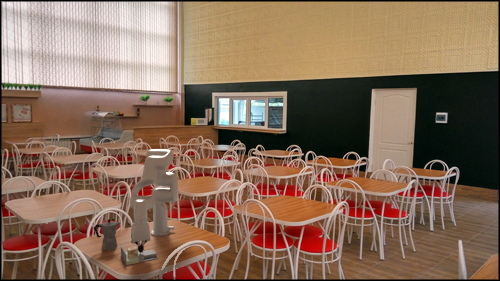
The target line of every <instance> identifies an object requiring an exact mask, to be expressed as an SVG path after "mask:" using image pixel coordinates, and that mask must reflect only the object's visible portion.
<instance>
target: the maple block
mask: <svg viewBox="0 0 500 281" xmlns="http://www.w3.org/2000/svg"><path fill="white" fill-rule="evenodd" d="M126 252H127V255H128V257H134V256H138V246H132V247H127V250H126Z"/></svg>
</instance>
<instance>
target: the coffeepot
mask: <svg viewBox="0 0 500 281" xmlns="http://www.w3.org/2000/svg"><path fill="white" fill-rule="evenodd" d="M120 225H121V222H117V221H111V218H108V219H107V221H106V222H102V223H99V224H95V226H93V230H94V233H95V235H96V237H97V238H101V237H102V236H103V238H102V243H101V249H102V250H104V251H114V250H115V249H117V248H118V242H117V237H116V234H117V229H118V228H119V226H120ZM98 228H101V232H102V235H100V233H99V232H98Z"/></svg>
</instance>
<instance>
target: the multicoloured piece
mask: <svg viewBox="0 0 500 281" xmlns="http://www.w3.org/2000/svg"><path fill="white" fill-rule="evenodd" d="M120 257H121V259H122V260H123V263H124V265H125V266H128V265H132V264H137V263H138V264H139V263H143V262H149V261H156V260H159V258H158V255H157V252H156V250H155V249H148V250H143V253H142V252H141V253H140V252H139V251H138V256H134V257H128V255H127V251H125V248H124V247H123V245H120Z"/></svg>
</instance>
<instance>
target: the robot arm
mask: <svg viewBox="0 0 500 281" xmlns="http://www.w3.org/2000/svg"><path fill="white" fill-rule="evenodd" d="M145 155H146V158H144V160H145V161H144V164H143V170H142V175H141V179H140V180H139V181H138V182H136V184H134V186H133V187H132V189H131V192H130V198H129V206H130V208H132V209H133V222H132V224H131V230H130V238H131V241H130V243H131V244H135V245H136V246H137V249H138V251H139V252H140V253H141V252H142V253H143V251H145V249H144V248H145V247H144V246H145V245H146V243H147V242H149V241H151V235H152V236H153V237H154V236H155V237H165V236H167V235H169V234H170V233H171V231H170V230H175V226H172V225H170V226H169V225H168V222H169V220H168V219H169V218H168V214H169V213H168V205H167V203H176V202H177V200H178V198H179V182H178V180H179V179H178V176H177V174H176V173H175V172H167V170H168V168H169V167H170V166H171V163H173V160H174V152H173V151H172V150H171V149H148V150H147V151H146V153H145ZM152 184H154V186H156V188H154V189H153V190H152V191H151V196H150V195H149V196H148V195H138V193H139V192H140V190H142V189H143V188H145V187H147V186H150V185H152ZM151 209H152V213H153V215H152V219H153V221H152V222H153V224H152V228H153V229H152V230H151V229H150V223H149V221H150V220H151V217H148V210H151Z"/></svg>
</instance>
